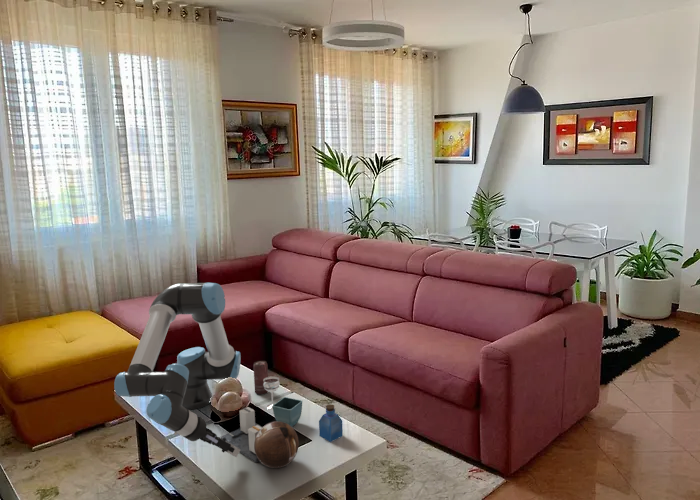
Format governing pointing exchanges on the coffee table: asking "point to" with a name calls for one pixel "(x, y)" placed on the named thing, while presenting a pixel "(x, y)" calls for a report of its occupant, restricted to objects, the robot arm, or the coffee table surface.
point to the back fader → (247, 419)
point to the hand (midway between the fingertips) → (237, 452)
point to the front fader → (253, 436)
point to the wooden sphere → (276, 444)
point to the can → (260, 376)
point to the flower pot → (288, 410)
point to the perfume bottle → (330, 425)
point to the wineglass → (271, 387)
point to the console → (241, 443)
